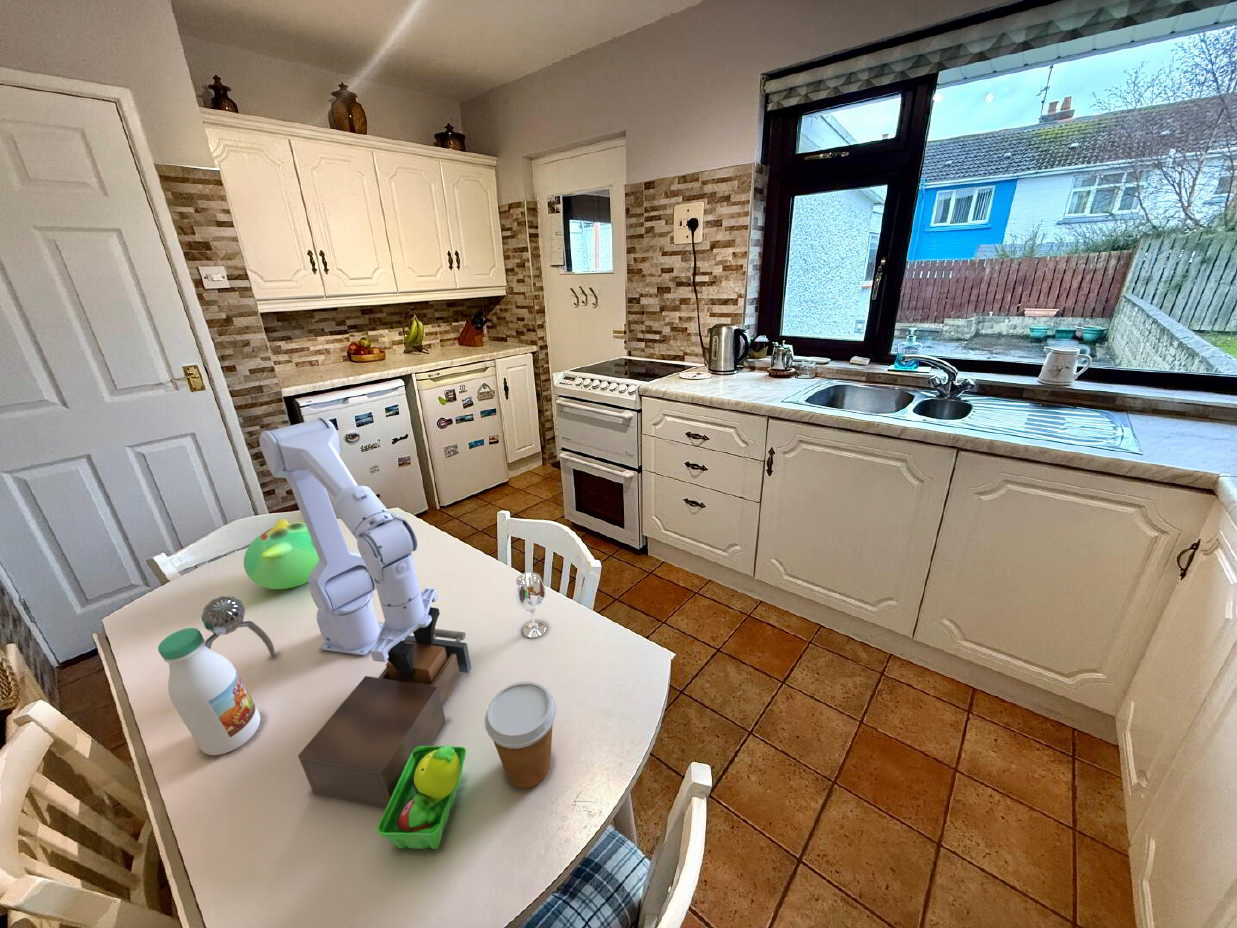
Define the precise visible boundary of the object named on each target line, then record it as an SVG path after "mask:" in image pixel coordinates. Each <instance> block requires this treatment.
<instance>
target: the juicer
mask: <svg viewBox="0 0 1237 928" xmlns="http://www.w3.org/2000/svg"><path fill="white" fill-rule="evenodd" d="M245 615H246V608H245V606H244V604H243V602H242V601H241V600H240V599H239V598H236V597H235V596H232V595H228V596H226V595H221V596H219V597H217V598H213V599H211V600H210V601H209V602H208V604H206V605H205V606H204V608H203V609H202V614H201V622H202V624H203V627H204V629H205V630H206V631H208V632H209V633H212V635H210V636H209V637H208V638H206V639H205V644H204V645H205V646H206V647H207V648H209V649H210V650H212V645H213V644H214V641H215V640H217V639H218V638H219V637H220V636H227V635H230V634H232V633H234V632H235V631H237V629H239V628H247V629H249V630H250V631H252V632H253V633H254V634H255V635H257V637H258V638H259V639H260V640H261V641H262V642H263V644H264V645H265V647H266V648H267V650H268V652H269V656H270V657H275V655H276V650H275V649H276V648H275V645H274V644H273V642H272V639H271V638H270V637H269V635H268V634H267V633H266V632H265V631H264V630H263V629H262V627H259V626H258V624H256V623H254V622H253V621H252V620H245V621H244V619H245Z"/></svg>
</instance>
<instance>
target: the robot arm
mask: <svg viewBox="0 0 1237 928" xmlns="http://www.w3.org/2000/svg"><path fill="white" fill-rule="evenodd" d="M258 440H259V447H260V450H261V453H262V455H263V458H264V460H265V463H266V465H267V468H268V470H269V472H270V473H271V475H272V476H273V478H280V479H281V478H282V479H283V478H284V479H285V480H286V481H287V483H288V484H289V486H290V488H291V491H292V493H293V496H294V498H295V502H296V504H297V506H298V509H299V511H300V514H301V516H302V520H303V521H304V522H305V524H306V527H307V529H308V532H309V534H310V537H311V540H312V542H313V545H314V547H315V550H316V552H317V555H318V557H319V562H318V563H317V564H316V566H315V567H314V568H313V570H312V571H311V572H310V573H309V575H308V582H307V583H308V585H309V593H310V596H311V599H312V601H313V602H314V605H315V606H316V608H317V612H316V622H317V626H318V628H319V631H320V634H321V635H320V636H321V637H322V640H323V645H322V646H321V650H323V651H329V652H334V653H335V652H336V653H342V654H343V653H344V654H350V655H357V656H366V655H367V654H368V653H369V652H370V655H371V659H372V661H374V662H378V663H379V662H380V663H386V662H388V661H389V662H390V663H391V664H392V665H393V666H394V667H395V669H396V670H397V672H398V673H399V674H400V676H404V677H410V678H411V677H412V676H413V675H414V665H413V649H414V646H415V644H410V643H405V640H404V639H405V638H406V637H407V636H408V635H409V636H411V634H413V636H414V637H415V640H416V643H417V644H425V645H433V639H434V630H435V629H436V625H437V622H438V619H439V616H440V614H441V612H440V609H439V608H438V607H432V606H431V605H432V603H435V602H437V600H438V599H439V598H438V592H437V589H435V588H427V587H425V588H424V589H423V590H422V591H421V588H420V583H419V580H418V575H417V570H416V566H415V562H414V557H413V552H416V551H417V549H418V539H417V536H416V533H415V531H414V530H413V529H414V528H413V527H412V526H411V524H410V523H409V521H407V519H405V518H404V517H403V516H400V515H398V514H397V513H396V512H390V511H389V510H388V508H387V507H386V506H385V505H384V504H383V502H382V501H381V500H380V499H379V497H378V496H377V495H376V494H375V492H374V491H373V490H372V489H371V487H369V486H366V485H359V484H358V482H357V481H356V480H355V479H354V477H353V475H352V474H351V472H350V470H349V469H348V468H347V466H346V464H345V463H344V461H343V460H342V458H341V457H340V455H341V447H340V445H341V444H340V443H341V441H340V437H339V434H338V431H337V429H336V427H335V425H334V423H332V422H331V421H330V420H329V419H327V417H322V416H321V417H318V418H317V419H313V420H309V421H308V420H307V421H305V422H300V423H297V424H292V425H288V426H284V427H280V428H275V429H272V430H263V431H262V432H261V433H260V436H259V439H258ZM327 491H328V492H327ZM328 493H329V494H330V495H331V496H332V497H333V498H334V499H335V501H334V504H333V505H332V502H331V499H330V496H329V494H328ZM336 515H337V516H338V517H339V519H340V520H341V521H342V523H343V524H344V525H345V526H346V528H347V529H348V530H349V532H350V533H351V534H352V535H353V537H354V538H355V540H356V543H357V544H356V545H357V546H356V548H357V550H358V552H357V551H351V550H349V548H348V545H347V542H346V540H345V537H344V535H343V531H342V529H341V527H340V524H339V521H338V518H337V516H336ZM341 531H342V532H341ZM374 591H376V593H377V597H378V601H379V603H380V608H381V610H382V614H383V618H384V622H383V623H379V621H378V617H377V614H376V611H375V607H374V603H373V600H372V598H373V597H375V594H374Z"/></svg>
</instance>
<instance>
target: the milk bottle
mask: <svg viewBox="0 0 1237 928" xmlns="http://www.w3.org/2000/svg"><path fill="white" fill-rule="evenodd" d="M205 642H206V639H205V638H204V636H203V635H202V632H201V631H200V630H199V629H198V628H195V627H188V628H187V627H186V628H183V629H180V630H177V631H175V632H173V633H171V634H169V635H168V636H166V637H165V638H164V639H163V640H162V641H161V642H160V643H159V645H158V646H157V649H158V653H159V655H160V656H161V658H162V659H163V661H164V662H165V663H168V666H169V667H168V668H169V675H168V681H167V682H168V684H167V690H168V695H169V698H170V701H171V703H172V705H173V707H174V709H175V710H176V712H177V714H178V715H179V717H180V719H181V720H182V723H183V724H184V725H185V727H186V728H187V730H188V732H189V734H191V736H192V738H193V739H194V741H195V742H196V744H197V746H198V748H199V749H200V750H201V751H202V753H204V754H206V755H209V756H221V755H224V754H228V753H230V752H232V751H234V750H236V749H238V748H240V747H241V746H242V745H244V744H245V743H246V742H248V741H249V740H250V739H251V738H252V737H253V736H254V735H255V733H257V730H258V728H259V726H260V724H261V715H260V712H259V709H258V707H257V706H256V704H255V702H254V700H253V698H252V696H251V694H250V693H249V690H248V689H247V687H246V685H245V683H244V681H243V679H242V678H241V676H240V674H239V672H238V670H237V669H236V667H235V666H234V665H233V664H232V662H231V661H230V660H229V659H228V658H227V657H225V656H224V655H222V654H220V653H218V652H216V651H214V650H212V649H209V648H207V647H206V646H205Z"/></svg>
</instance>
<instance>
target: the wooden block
mask: <svg viewBox="0 0 1237 928" xmlns="http://www.w3.org/2000/svg"><path fill="white" fill-rule="evenodd" d="M405 643H410V642H405ZM410 644H415V646H414V649H413V665H414V675H413V676H412V677H411V678H410V677H404V676H400V674H399V673H398V672H397V670H396V669H395V667H394V666H393V665H392V664H391V663H390V662H389V661H388V660H387V661H386V662H385V666H386V667H387V670H388V673H389V677H390V678H393V679H400V680H406V681H413V682H420V683H427V684H432V682H433V681H434V679H435V678H436V676H437V675H438V673H439V672H440V670H441V669H442V667H443V666H444V664H445V663H446V662H447V656H446V651H445V647H440V646H433V645H425V644H417V643H410Z"/></svg>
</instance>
